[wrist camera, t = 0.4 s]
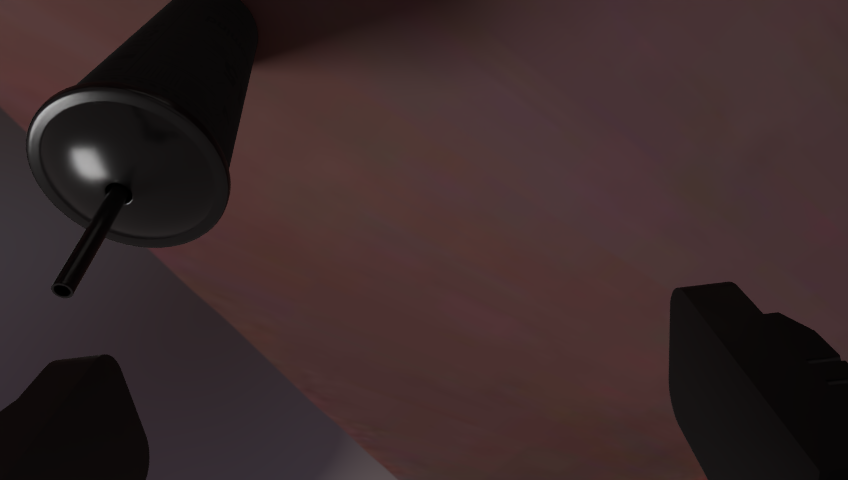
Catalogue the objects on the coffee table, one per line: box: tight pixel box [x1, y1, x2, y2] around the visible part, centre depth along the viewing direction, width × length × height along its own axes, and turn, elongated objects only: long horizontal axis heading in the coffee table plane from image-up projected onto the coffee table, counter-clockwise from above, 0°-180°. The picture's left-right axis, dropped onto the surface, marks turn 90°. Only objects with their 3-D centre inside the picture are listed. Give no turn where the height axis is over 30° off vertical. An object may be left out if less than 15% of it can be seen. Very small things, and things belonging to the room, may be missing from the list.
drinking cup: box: [26, 0, 258, 298], centre depth 29 cm, size 8×8×20 cm
